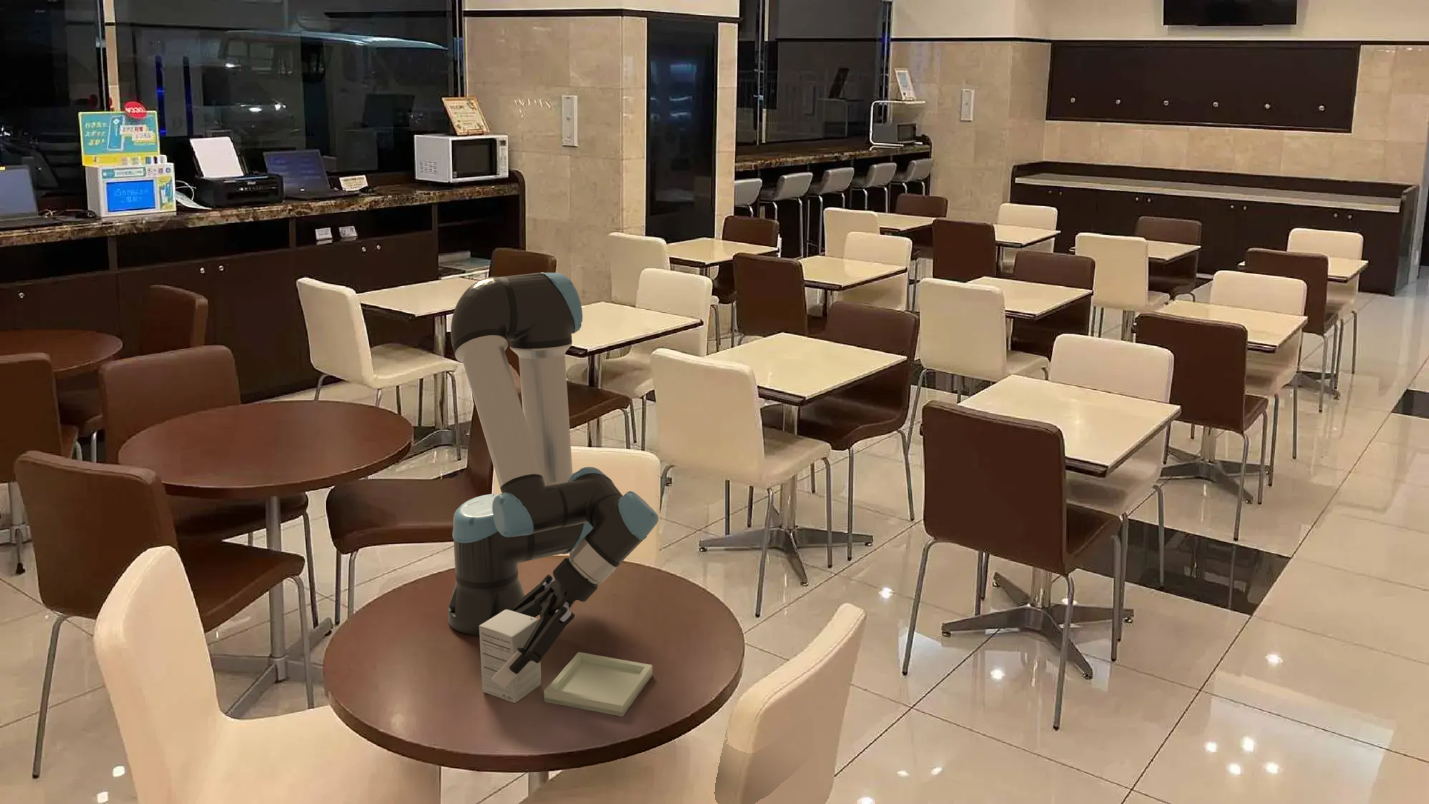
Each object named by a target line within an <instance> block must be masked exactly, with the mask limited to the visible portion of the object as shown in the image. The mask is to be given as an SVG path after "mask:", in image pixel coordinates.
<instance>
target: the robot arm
mask: <svg viewBox="0 0 1429 804" xmlns="http://www.w3.org/2000/svg"><path fill="white" fill-rule="evenodd" d="M583 319H584V317H583V308H582V303H581V299H580V296H579V293H578V291H577V289H576V287H575V285H574V284H573V282H572V281H571V280H570V278H569V277H568V276H566V275H565V274H563V273H561V272H543V271H542V272H533V273H524V274H515V275H508V276H507V275H506V276H505V275H504V276H489V277H485V278H482V279H480V280H477V281H476V282H475V283H473V284H471V285H469V287H468V288H467V289H466V290H465V291H464V292H463V294H462V295H461V296H460V298H459V300H458V301H457V303H456V305H455V308H454V310H453V313H452V318H451V322H450V341H451V346H452V349H453V354H454V356H455V359H456V360H457V361H458V362H460V363H462V364H463V367H464V370H465V373H466V377H467V381H468V384H469V386H470V389H471V394H472V398H473V401H474V404H475V407H476V411H477V415H478V418H479V421H480V424H481V427H482V428H481V429H482V431H483V434H484V438H485V442H486V445H487V449H488V452H489V455H490V458H491V462H492V465H493V469H494V473H495V475H496V478H497V483H498V486H499V489H500V493H497V494H494V493H489V494H483V495H480V496H476V497H472V498H470V499H468V500H466V501H465V502H463V503H462V504H460V505H459V506H458V508H457V509H456V510H455V511H454V514H453V522H452V524H453V525H452V526H453V527H452V532H451V534H452V536H451V537H452V539H453V553H454V555H453V556H454V569H455V570H454V571H455V584H454V586H453V590H452V594H451V597H450V601H449V604H448V607H447V620H448V624H449V626H450V627H451V628H452V629H454V630H456V631H457V632H459V633H462V634H466V635H470V636H480V634H479V625H481V624H483V623H484V622H486V621H488V620H489V619H491V618H493V617H494V616H496V615H497V614H499V613H501V612H502V611H504V610H506V609H507V610H511V611H514V612H517V613H521V614H524V615H528V616H531V617H534V618H537V617H538V616H539V621H538V623H537V625H536V626H535V628H534V630H533V631H532V633H531V635H530V636H529V638H528V640H527V642H526V643H525V645H524V647H523V648H519V647H518V650H517V651H516V652H515V653H514V654H513V655H512V656H511V657H510V658H509V660H508V661H507V662H506V663H505V664H504V665H503V666H502V667H501V668H500V669H499V670H498V671H497V672H496V673H495V675H494V676H493V677H492V680H493V681H494V682H495V683H497V684H498V685H500V686H501V687H502V688H505V687H506V686H507V685H508V684H509V683H510V682H511V681H512V680H513V679H514V678H515V677H516V676H517V674H518V673H519V672H520V671H521V670H522V669H523V668H524V667H525V666H526V665H527V664H528V663H529V662H530V661H534V662H535V663H539V662H540V661H541V660H542V659H543V658H544V657H545V655H546V654H547V653H548V651H549V650H550V648H551V647H552V646H553V645H554V643H555V642H556V641H557V639H558V637H559V636H560V635H561V633H562V632H563V631H564V629H565V628H566V626H567V625H568V624H570V622H571V621H573V620H574V618H575V613H573V612H572V611H571V608H572V606H573V604H575V602H576V601H578V602H583V603H584V602H587V600H588V599H589V598H590V597H591V596H592V595H593V594H594V593H595V592H596V591H597V590H598V589H599V588H598V587H599V585H598V584H602V583H604V582H605V581H606V580H607V579H608V577H609V576H611V575H613V574H614V573H615V570H616V569H617V568H618V567H619V566H620V565H621V564H622V563H623V562H624V560H626V558H628V556H629V555H630V554H631V553H633V551H634V550H635V549H636V548H637V547H638V546H639V545H640V544H641V543H642V542H643V541H645V540H646V538H648V536H649V534H650V533H651V532H652V531H653V529H654V528H655V527H656V526H657V524H658V523H659V515H658V513H657V512H656V511H655V509H653V507H651V506H650V505H649V503H647V502H646V501H645V500H644V499H643V498H642V497H641V496H640V495H638V494H637V493H636V492H634V491H631V490H629V491H627V492H626V493H625V494H623V493H621V492H620V490H619V489H618V487H616V485H615V483H614V482H613V480H612V479H611V478H610V477H609V476H607V474H605V473H604V472H603V471H602V470H600V469H599V468H597V467H592V466H586V467H582V468H580V469H579V470H577V471H576V472H573V471H574V470H573V460H572V459H573V455H572V444H571V443H572V442H571V441H572V440H571V430H570V429H571V428H570V413H569V412H570V410H569V398H568V383H567V382H568V381H567V380H568V379H567V370H566V369H567V367H566V366H567V365H566V352H567V351H568V350H569V348H570V347H572V345H573V339H572V338H573V336H572V334H576V333H577V332H579V331H580V330H581V328H582V322H583ZM508 346H509V348H510V350H511V351H512V352H513V353H515V354H516V355H517V356H518V365H519V366H518V367H519V378H520V388H521V390H520V391H521V400H520V397H519V394H518V391H517V388H516V385H515V382H514V377H513V375H512V374H513V373H512V371H511V370H512V369H511V367H510V364H509V361H508V357H507V355H506V350H507V348H508ZM568 554H569V557H565V558H564V559H562V560H561V561H560V562H559V564H558V565H557V566H556V567H555V568H554V569H553V571H552V575H553V576H552V575H550V574H547V575H546V576H545V577H544V578H543V579H542V580H541V581H540V583H539V584H537V585H536V586H534V588H532V589H531V590H530V591H529V592H528V593H526V594H525V592H524V588H523V586H522V583H521V582H520V578H519V564H521V563H525V562H529V561H534V560H539V559H543V558H548V557H553V556H558V555H568Z"/></svg>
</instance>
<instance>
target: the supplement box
mask: <svg viewBox="0 0 1429 804" xmlns="http://www.w3.org/2000/svg"><path fill="white" fill-rule="evenodd" d="M539 619H540V618H539ZM539 619H538V618H537V617H535V618H534V617H531V616H528V615H524V614H521V613H517V612H514V611H511V610H507V609H506V610H504V611H502V612H501V613H499V614H497V615H496V616H494V617H493V618H491V619H489V620H488V621H486V622H484V623H483V624H481V625H479V634H480V635H479V648H480V649H479V650H480V652H479V653H480V654H479V655H480V671H481V688H482V689H481V690H482V692H483V693H485V694H488V695H490V696H494V697H497V698H499V699H502V700H505V701H508V702H510V703H514V704H516V703H518V702H520V701H521V700H522V699H524V698H525V697H526V696H527V695H529V694H530V693H531V692H533V691H535V689H537V688H538V687H539V686H541V685H542V663H541V661H540V662H539V663H535V662H534V661H530V662H529V663H528V664H527V665H526V666H525V667H524V668H523V669H522V670H521V671H520V672H519V673H518V674H517V676H516V677H515V678H514V679H513V680H512V681H511V682H510V683H509V684H508V685H507V686H506V687H505V688H502V687H501V686H500V685H498V684H497V683H495V682H494V681H493V680H492V677H493V676H494V675H495V673H496V672H497V671H498V670H499V669H500V668H501V667H502V666H503V665H504V664H505V663H506V662H507V661H508V660H509V658H510V657H511V656H512V655H513V654H514V653H515V652H516V651H517V650H518V647H519V648H523V647H524V645H525V643H526V642H527V640H528V638H529V636H530V635H531V633H532V631H533V630H534V628H535V626H536V625H537V623H538V621H539Z"/></svg>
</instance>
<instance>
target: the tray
mask: <svg viewBox="0 0 1429 804" xmlns="http://www.w3.org/2000/svg"><path fill="white" fill-rule="evenodd" d="M652 676H653V664H647V663H642V662H637V661H633V660H632V661H631V660H626V659H619V658H615V657H609V656H605V655H604V656H603V655H598V654H592V653H587V652H581V651H578V652H577V653H575V655H574V657H572V659H571V660H570V661H569V662H568V663H567V664H566V665H565V666H564V668H563V669H562V670H561V671H560V673H558V675H557V676H556V677H555V678H554V679H553V680H552V681H551V683H550V684H549V685H548V686H547V687H546V688H545V689H544V691H543V700H544V703H550V704H555V705H560V706H565V707H569V708H576V709H581V710H587V711H592V712H596V713H602V714H606V715H613V716H617V717H624V715H625V714H626V712H627V711H628V710H629V708H630V707H631V706H632V704H633V703H634V701H636V699H637V697H638V696H639V695H640V693H641V692H642V690H643V689H644V688H645V686H646V685H647V684H648V683H649V681H650V679H652Z"/></svg>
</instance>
